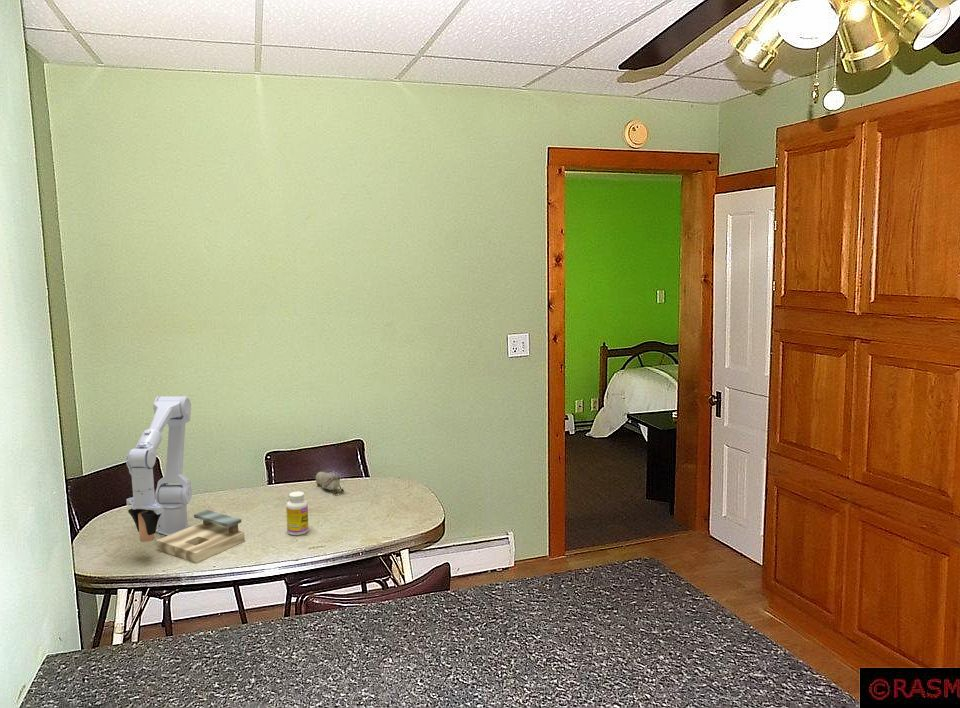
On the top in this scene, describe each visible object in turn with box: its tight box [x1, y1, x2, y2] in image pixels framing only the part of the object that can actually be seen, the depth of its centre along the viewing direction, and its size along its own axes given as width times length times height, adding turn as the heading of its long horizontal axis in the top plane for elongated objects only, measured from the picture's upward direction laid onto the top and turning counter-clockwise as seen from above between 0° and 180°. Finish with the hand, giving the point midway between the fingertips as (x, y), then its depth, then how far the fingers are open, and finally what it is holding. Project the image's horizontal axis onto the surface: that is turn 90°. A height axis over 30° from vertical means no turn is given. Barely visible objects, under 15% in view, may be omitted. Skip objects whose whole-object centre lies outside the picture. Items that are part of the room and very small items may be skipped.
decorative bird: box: [315, 471, 345, 496], centre depth 277 cm, size 5×16×8 cm, turn 42°
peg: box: [138, 511, 156, 543], centre depth 217 cm, size 4×4×8 cm
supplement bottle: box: [285, 490, 309, 536], centre depth 237 cm, size 7×7×13 cm
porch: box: [156, 509, 245, 564], centre depth 227 cm, size 18×18×7 cm
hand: (146, 532), depth 218 cm, fingers closed on peg, 4 cm apart
